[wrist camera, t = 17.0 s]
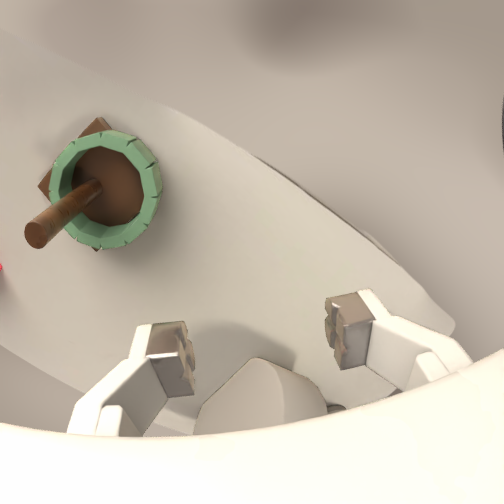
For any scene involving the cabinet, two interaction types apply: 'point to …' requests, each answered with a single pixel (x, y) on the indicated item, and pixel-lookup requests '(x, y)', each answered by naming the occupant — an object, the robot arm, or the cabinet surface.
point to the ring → (150, 179)
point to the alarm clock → (260, 400)
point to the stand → (91, 192)
